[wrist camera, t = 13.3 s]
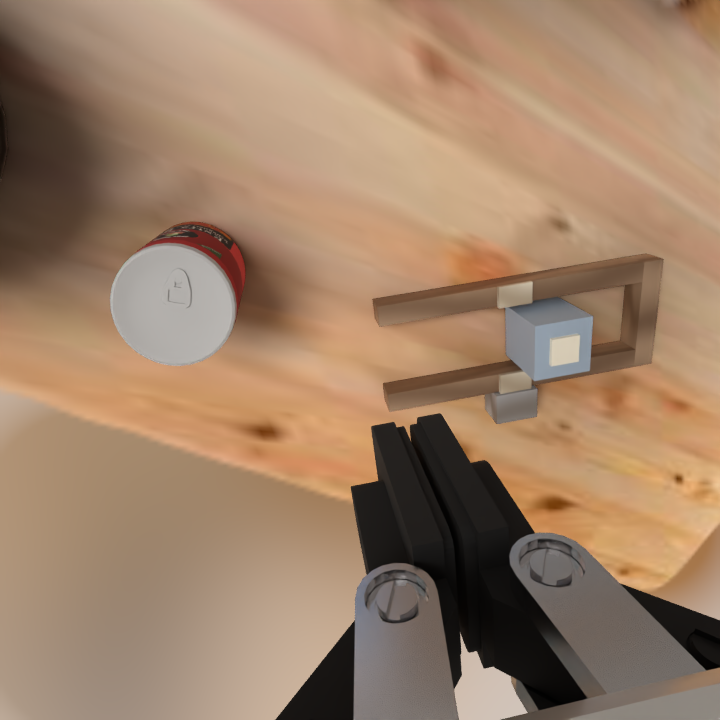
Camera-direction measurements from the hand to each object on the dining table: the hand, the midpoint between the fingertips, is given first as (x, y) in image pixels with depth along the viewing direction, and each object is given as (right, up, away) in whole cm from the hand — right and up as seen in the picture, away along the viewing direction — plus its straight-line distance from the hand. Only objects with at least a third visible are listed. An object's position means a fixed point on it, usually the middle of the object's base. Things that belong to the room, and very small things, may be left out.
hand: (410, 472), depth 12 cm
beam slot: (+13, +4, +37) cm, 39 cm away
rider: (+15, +6, +36) cm, 40 cm away
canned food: (-14, +10, +30) cm, 35 cm away
